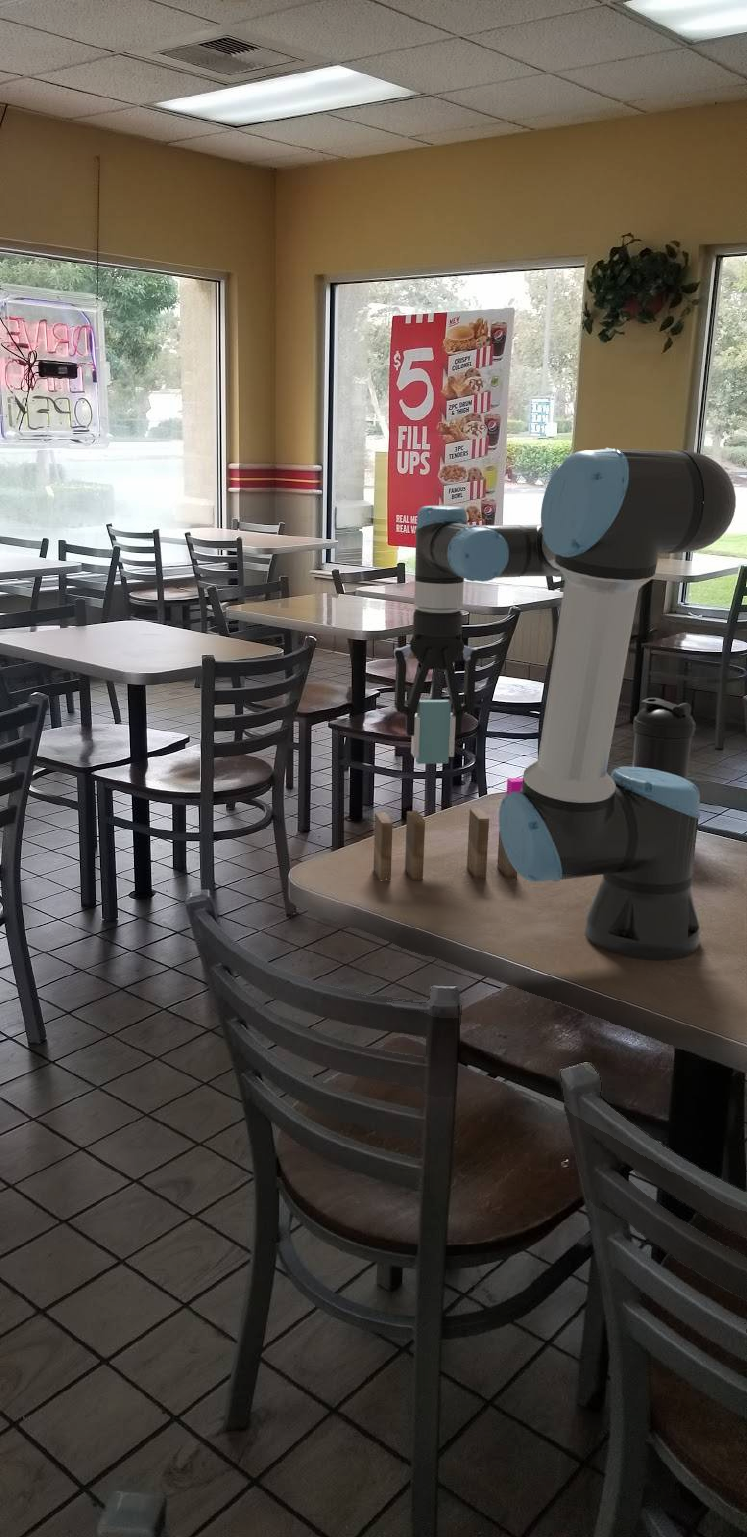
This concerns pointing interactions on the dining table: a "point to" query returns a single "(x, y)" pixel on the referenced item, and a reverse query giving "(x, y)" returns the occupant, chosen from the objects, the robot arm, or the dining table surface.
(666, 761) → the water bottle
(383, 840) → the domino
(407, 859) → the domino
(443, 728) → the domino
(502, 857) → the domino
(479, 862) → the domino
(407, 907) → the dining table surface
